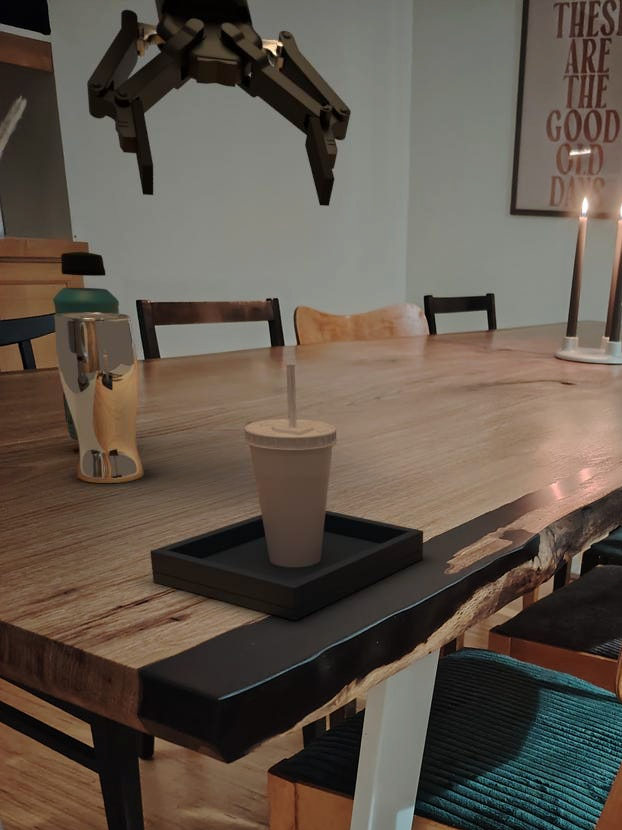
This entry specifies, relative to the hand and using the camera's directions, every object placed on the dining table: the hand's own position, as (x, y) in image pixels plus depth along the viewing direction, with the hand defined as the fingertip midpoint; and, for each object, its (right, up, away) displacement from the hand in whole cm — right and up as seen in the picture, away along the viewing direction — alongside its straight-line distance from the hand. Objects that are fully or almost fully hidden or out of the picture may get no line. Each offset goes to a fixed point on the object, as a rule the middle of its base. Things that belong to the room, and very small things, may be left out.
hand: (240, 187), depth 71 cm
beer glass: (-18, -19, +20) cm, 33 cm away
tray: (+5, -30, -3) cm, 30 cm away
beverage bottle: (-23, -14, +30) cm, 40 cm away
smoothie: (+5, -29, -3) cm, 30 cm away
